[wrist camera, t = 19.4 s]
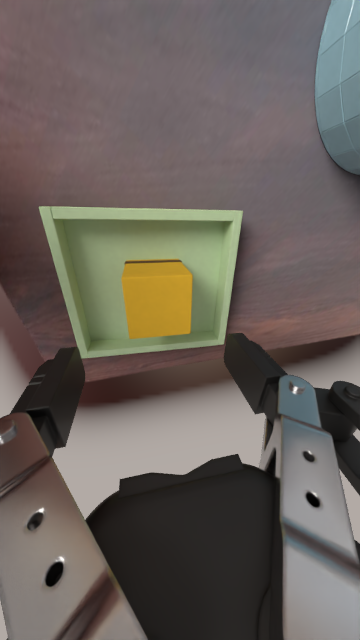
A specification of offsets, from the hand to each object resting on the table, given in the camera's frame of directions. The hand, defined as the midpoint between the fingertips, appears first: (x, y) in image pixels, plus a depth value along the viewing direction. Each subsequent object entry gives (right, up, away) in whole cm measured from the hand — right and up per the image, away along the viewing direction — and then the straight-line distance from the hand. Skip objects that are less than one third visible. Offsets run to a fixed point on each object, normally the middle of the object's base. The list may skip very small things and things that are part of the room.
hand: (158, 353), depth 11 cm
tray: (-2, +6, +10) cm, 11 cm away
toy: (-1, +5, +9) cm, 11 cm away
